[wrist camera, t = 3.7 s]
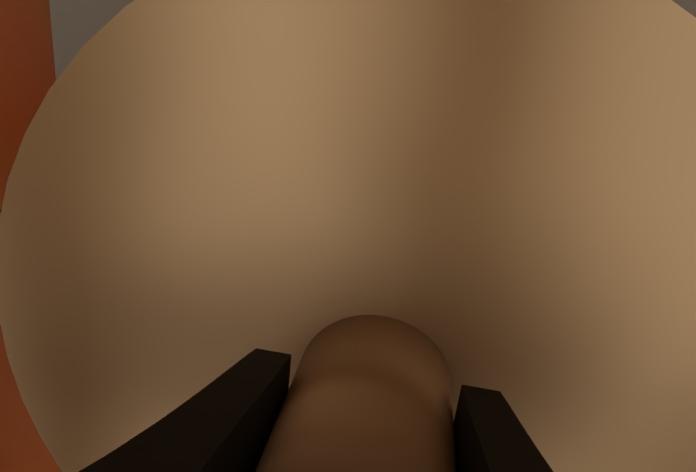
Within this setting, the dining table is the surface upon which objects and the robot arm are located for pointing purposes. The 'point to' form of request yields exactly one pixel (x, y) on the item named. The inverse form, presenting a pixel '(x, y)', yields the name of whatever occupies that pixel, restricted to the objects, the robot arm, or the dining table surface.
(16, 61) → the dining table surface
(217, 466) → the robot arm
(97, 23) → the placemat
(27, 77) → the dining table surface
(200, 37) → the lid
